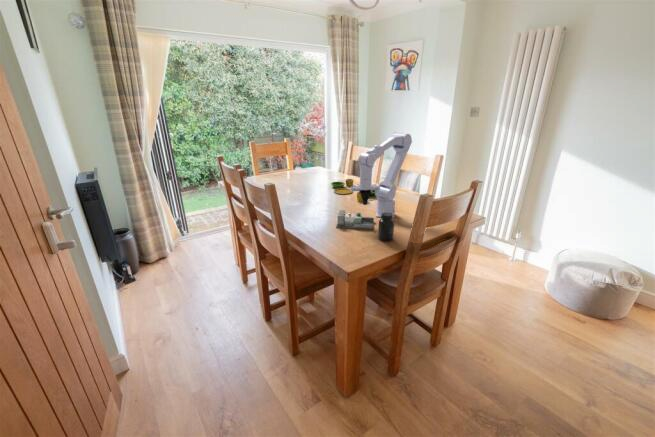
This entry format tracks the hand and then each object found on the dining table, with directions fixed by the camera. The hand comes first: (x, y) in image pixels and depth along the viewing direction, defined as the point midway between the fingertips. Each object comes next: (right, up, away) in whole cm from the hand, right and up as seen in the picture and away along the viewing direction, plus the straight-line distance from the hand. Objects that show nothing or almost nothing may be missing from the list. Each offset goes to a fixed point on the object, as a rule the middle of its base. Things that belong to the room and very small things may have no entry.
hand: (364, 204), depth 150 cm
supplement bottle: (+7, -17, -16) cm, 24 cm away
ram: (-3, -9, -1) cm, 10 cm away
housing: (-8, -9, 0) cm, 12 cm away
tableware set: (0, +10, +51) cm, 52 cm away
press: (-5, -10, 0) cm, 11 cm away
